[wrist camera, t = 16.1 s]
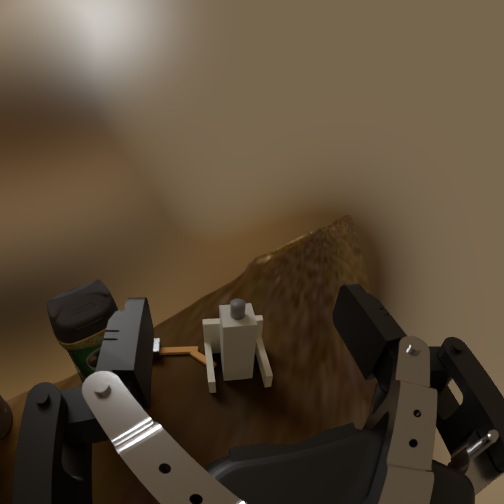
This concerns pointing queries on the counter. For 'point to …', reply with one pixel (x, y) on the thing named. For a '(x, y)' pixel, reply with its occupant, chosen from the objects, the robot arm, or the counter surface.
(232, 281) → the counter surface
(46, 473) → the robot arm
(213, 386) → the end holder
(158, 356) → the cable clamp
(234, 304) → the white square bottle
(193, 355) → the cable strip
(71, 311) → the coffee jar
